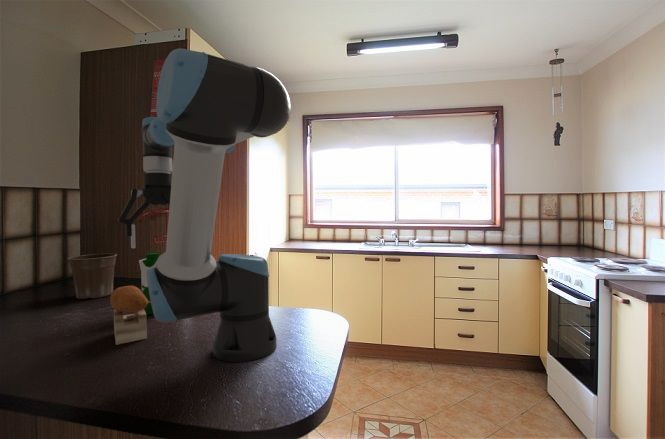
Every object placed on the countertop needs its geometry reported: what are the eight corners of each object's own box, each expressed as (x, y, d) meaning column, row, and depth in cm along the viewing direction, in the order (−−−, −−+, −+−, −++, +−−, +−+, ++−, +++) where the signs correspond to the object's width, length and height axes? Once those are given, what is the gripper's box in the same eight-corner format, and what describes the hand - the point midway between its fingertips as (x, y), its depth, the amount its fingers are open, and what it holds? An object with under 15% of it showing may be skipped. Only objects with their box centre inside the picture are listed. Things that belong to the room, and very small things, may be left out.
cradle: (147, 338, 88) (146, 314, 88) (115, 344, 84) (115, 319, 84) (143, 327, 97) (142, 305, 96) (114, 332, 93) (113, 310, 92)
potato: (135, 305, 97) (134, 280, 97) (153, 313, 89) (152, 287, 89) (106, 310, 92) (105, 285, 91) (122, 320, 83) (122, 292, 83)
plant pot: (58, 299, 128) (57, 258, 128) (98, 289, 144) (97, 252, 143) (89, 302, 124) (88, 259, 123) (127, 292, 139) (126, 253, 139)
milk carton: (137, 315, 108) (135, 254, 108) (154, 306, 117) (153, 250, 117) (162, 315, 107) (160, 254, 107) (178, 307, 116) (176, 250, 116)
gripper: (198, 176, 107) (200, 242, 107) (105, 171, 91) (107, 248, 91) (206, 174, 101) (208, 243, 101) (107, 168, 85) (110, 250, 86)
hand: (160, 246), depth 96 cm, fingers open, 13 cm apart
